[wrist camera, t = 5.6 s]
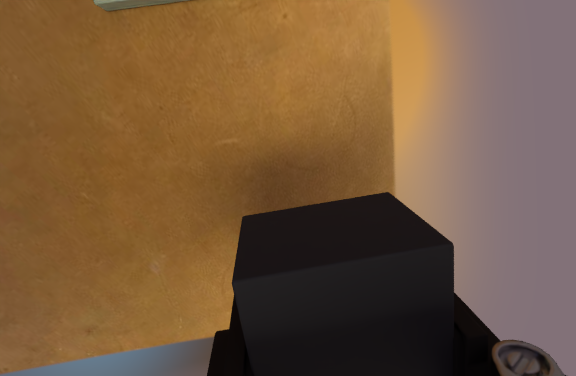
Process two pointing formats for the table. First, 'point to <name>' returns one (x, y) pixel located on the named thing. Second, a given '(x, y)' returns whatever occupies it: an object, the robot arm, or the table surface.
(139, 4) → the pad frame
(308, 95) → the table surface
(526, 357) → the robot arm
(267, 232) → the loose pad
